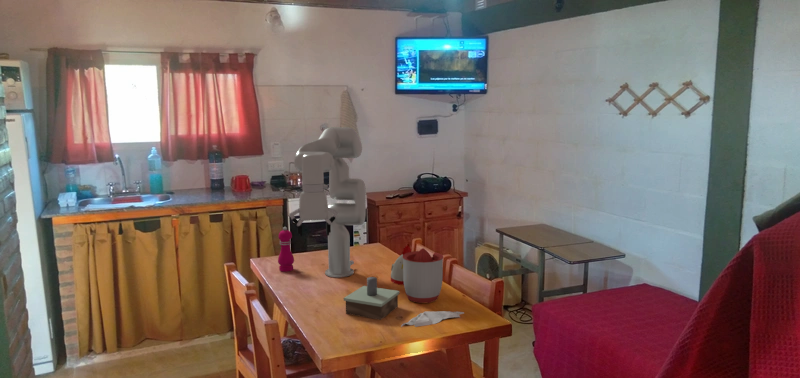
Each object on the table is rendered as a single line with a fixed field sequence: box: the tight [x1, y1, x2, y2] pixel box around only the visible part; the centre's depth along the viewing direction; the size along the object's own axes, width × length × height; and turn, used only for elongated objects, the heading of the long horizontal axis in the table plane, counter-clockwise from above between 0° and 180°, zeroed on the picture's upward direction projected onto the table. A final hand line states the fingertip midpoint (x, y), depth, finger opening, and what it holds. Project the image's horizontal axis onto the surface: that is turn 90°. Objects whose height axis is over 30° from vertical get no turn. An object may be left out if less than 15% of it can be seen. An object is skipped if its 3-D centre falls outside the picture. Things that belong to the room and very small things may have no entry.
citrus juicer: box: [403, 247, 444, 304], centre depth 215 cm, size 16×17×20 cm
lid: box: [343, 276, 400, 307], centre depth 202 cm, size 15×15×7 cm
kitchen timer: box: [390, 245, 412, 286], centre depth 238 cm, size 14×14×15 cm
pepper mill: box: [277, 226, 295, 273], centre depth 252 cm, size 7×7×20 cm
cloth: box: [400, 310, 465, 328], centre depth 195 cm, size 26×14×2 cm, turn 107°
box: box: [345, 294, 399, 321], centre depth 203 cm, size 14×14×5 cm
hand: (314, 235), depth 201 cm, fingers open, 9 cm apart
